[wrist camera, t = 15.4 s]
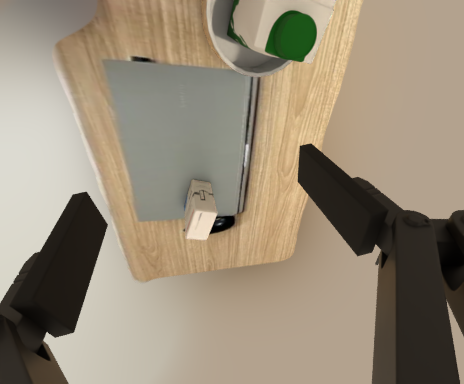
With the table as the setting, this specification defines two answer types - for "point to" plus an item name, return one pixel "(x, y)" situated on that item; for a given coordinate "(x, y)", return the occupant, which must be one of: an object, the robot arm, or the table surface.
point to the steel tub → (234, 43)
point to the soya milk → (281, 26)
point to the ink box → (199, 210)
